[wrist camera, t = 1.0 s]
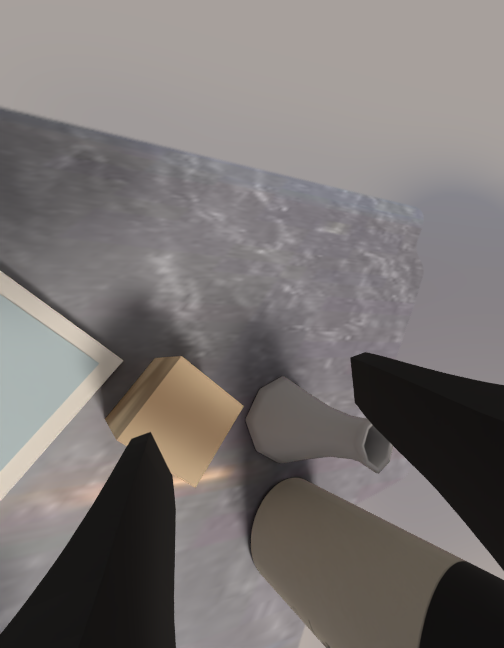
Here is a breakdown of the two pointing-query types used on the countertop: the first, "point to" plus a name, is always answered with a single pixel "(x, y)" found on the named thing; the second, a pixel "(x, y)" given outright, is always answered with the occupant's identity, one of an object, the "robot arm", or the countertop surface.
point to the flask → (311, 429)
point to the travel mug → (370, 576)
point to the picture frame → (41, 377)
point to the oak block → (176, 415)
